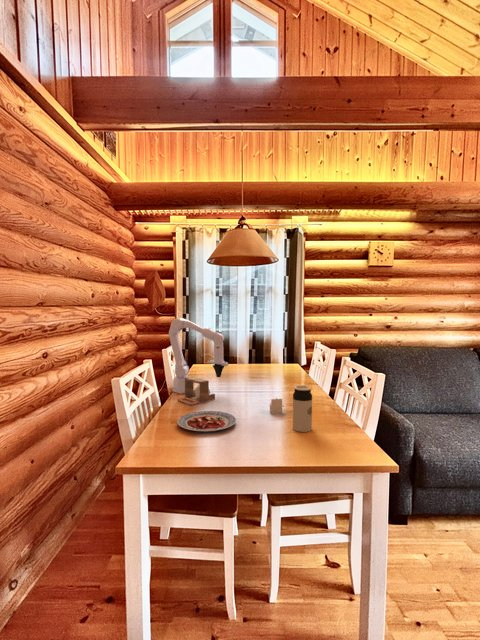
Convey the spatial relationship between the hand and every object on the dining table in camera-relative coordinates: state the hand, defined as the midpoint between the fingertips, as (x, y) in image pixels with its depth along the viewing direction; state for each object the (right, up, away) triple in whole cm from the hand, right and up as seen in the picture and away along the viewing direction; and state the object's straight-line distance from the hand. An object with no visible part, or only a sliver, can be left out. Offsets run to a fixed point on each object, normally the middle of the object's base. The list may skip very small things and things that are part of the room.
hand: (218, 376), depth 209 cm
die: (-9, -10, -11) cm, 18 cm away
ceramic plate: (-2, -13, -53) cm, 55 cm away
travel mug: (+39, -13, -59) cm, 72 cm away
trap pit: (-15, -11, -20) cm, 27 cm away
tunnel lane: (-10, -10, -12) cm, 18 cm away
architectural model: (+30, -12, -37) cm, 49 cm away
